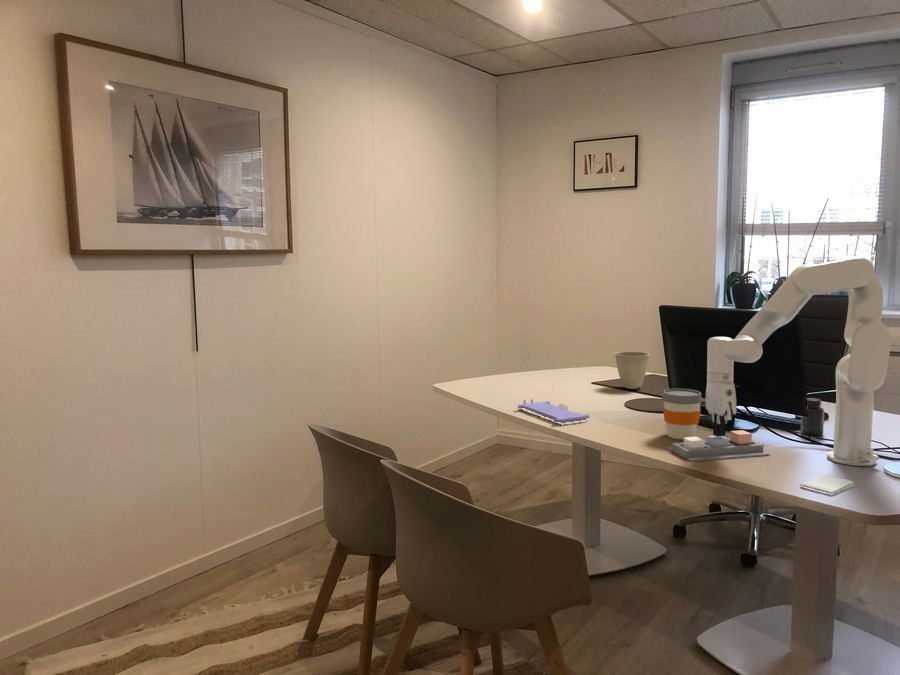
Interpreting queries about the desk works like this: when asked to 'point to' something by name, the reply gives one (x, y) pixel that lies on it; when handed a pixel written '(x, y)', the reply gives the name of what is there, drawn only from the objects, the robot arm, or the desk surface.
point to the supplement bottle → (813, 418)
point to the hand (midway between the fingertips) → (719, 435)
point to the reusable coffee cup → (681, 412)
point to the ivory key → (693, 442)
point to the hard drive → (828, 484)
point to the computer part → (553, 411)
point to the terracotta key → (741, 437)
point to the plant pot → (632, 367)
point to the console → (719, 451)
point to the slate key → (717, 441)
